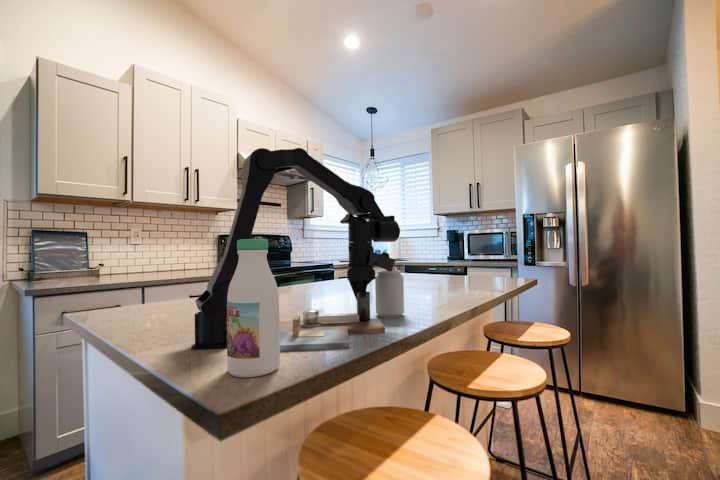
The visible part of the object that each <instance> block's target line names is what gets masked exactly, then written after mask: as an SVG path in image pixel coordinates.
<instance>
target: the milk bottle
mask: <svg viewBox="0 0 720 480" xmlns="http://www.w3.org/2000/svg"><path fill="white" fill-rule="evenodd" d="M244 249H247V250H244ZM268 249H269V241H268V239H266V238H265V239H264V238H250V239H241V240H238V241H237V250H238V252H237V253H238V254H239V261H238V265H237V268H236V271H235V273H234V276H233V278H232V280H231V282H230V285H229V289H228V295H227V347H226V354H227V355H226V360H227V361H226V362H227V367H226V368H227V372H228V373H229V374H230V375H231V376H233V377H236V378H255V377H260V376H261V377H262V376H265V375H268V374H272V373H273V372H275V371H277V369H279V366H280V363H281V351H280V324H279V322H280V299H279V298H280V297H279V290H278V284H277V281H276V279H275V277H274V275H273V273H272V271H271V269H270V266H269V262H268V257H267V255H268V253H269V251H268Z"/></svg>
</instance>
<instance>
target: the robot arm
mask: <svg viewBox="0 0 720 480" xmlns="http://www.w3.org/2000/svg"><path fill="white" fill-rule="evenodd" d="M291 170H294V171H296V172H298V173H299V174H300V175H302V177H305V178H306V179H308V180H309V181H311V182H312V183H313V184H315V185H316V186H318V187H320V188H321V189H323V190H324V191H326V192H327V193H328V194H330V195H331V196H333V198H335V200H336V201H337V202H338V203H337V204H338V205H339V206H340V207H341V208H342V209H344V211H345V212H346V215H345V216H344V217H343V218H342V219H341V220H340V221H339V222H340V224H345V225H346V224H348V225H347V226H348V229H347V230H348V245H347V246H348V269H347V270H346V271H347V272H346V274H347V275H346V279H347V281H348V283H349V284H350V287H351V290H352V293H353V294H354V297H355V300H356V301H357V292H359V291H367V289H368V285H369V284H370V283H371V282H372V281H373V280H375V277H376V270H375V269H374V268H375V267H378V268H381V269H384V270H387V271H389V272H392V270H394V268H395V267H394V266H395V263H396V259H394V258H391V257H390V253H388V252H385V251H383V252H381V253H377V252H374V251H375V249H374V247H373V242H375V243H394V242H397V241H398V239H399V237H400V235H401V234H400V233H401V228H400V225H399V223H398V221H396V220H395V215H385V214H384V213H383V211H382V210H381V208H380V207H379V205H378V203H377V201H375V200H376V199H375V195H374V194H373V192H372V191H370V190H368V189H367V188H364V187H363V186H360V185H357V184H355V183H354V184H353V183H350V182H348V181H346V180H344V179H343V178H342V177H340V176H339V175H338V174H336V173H335V172H334V171H332V170H331V169H330V168H328V167H327V166H325V165H324V164H323V163H321V162H320V161H318V160H317V159H315V158H314V157H313V156H311V155H310V153H308V151H306V150H305V149H304V148H302V147H297V148H296V147H295V148H293V149H288V148H287V149H276V150H270V149H268V148H263V147H262V148H261V147H260V148H257V149H255V150H253V152H251V153H250V154H249V155H248V156H247V157H246V158H245V159H244V161H243V163H242V169H241V178H240V179H241V194H240V198H239V200H238V203H237V206H236V210H235V214H234V218H233V221H232V224H231V228H230V231H229V234H228V238H227V242H226V245H225V248H224V252H223V255H222V257H221V259H220V260H219V262H218V264H217V265H216V266H215V268H214V270H213V272H212V274H211V276H210V278H209V281H208V282H207V287H206V290H204V291H203V293H202V294H200V296H198V297H197V298H196V299H195V301H194V302H195V304H196V306H197V309H198V312H195V313H194V343H193V344H192V345H191V346H190V348H191V349H193V350H195V349H198V350H199V349H217V348H219V349H220V348H227V295H228V289H229V285H230V282H231V280H232V278H233V276H234V273H235V271H236V268H237V265H238V261H239V254H238V253H237V252H238V250H237V241H238V240H241V239H252V234H253V232H254V227H255V223H256V220H257V217H258V212H259V209H260V205H261V203H262V198H263V196H264V193H265V191H266V190H267V189H268V188H269V186H270V184H271V182H272V181H273V179H274V176H275V174H278V173H283V172H286V171H291ZM244 250H248V249H244Z"/></svg>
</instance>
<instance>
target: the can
mask: <svg viewBox="0 0 720 480" xmlns="http://www.w3.org/2000/svg"><path fill="white" fill-rule="evenodd" d="M401 273H402V272H401V270H399V269H398V270H396V269H393V270H392V272H389V271H387V270H386V269H384V270H378V271H377V274H375V279H374V280H375V281H374V283H375V285H374V287H375V288H374V289H375V290H374V291H375V313H376V315H378V316H379V317H381V318H385V319H387V318H388V319H390V318H391V319H394V318H399V317H401V316H402V315H403V314H404V313H405V296H404V295H405V290H404V289H405V288H404V287H405V283H404V281H405V280H404V276H403V274H401Z"/></svg>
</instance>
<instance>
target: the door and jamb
mask: <svg viewBox="0 0 720 480" xmlns="http://www.w3.org/2000/svg"><path fill="white" fill-rule="evenodd" d="M279 324H280V352H282V351H284V352H285V351H287V352H288V351H308V350H309V351H310V350H311V351H312V350H313V351H314V350H337V349H350V338H349V335H362V334H363V335H365V334H367V335H368V334H386V328H385V326H384V324H383V323H382V321H381V320H380V318H370V321H368V322H329V323H315V324H305V323H303V320H301V315H298V314H297V315H294V316H293V318H292V320H291V321H290V320H289V321H287V320H286V321H279Z"/></svg>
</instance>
